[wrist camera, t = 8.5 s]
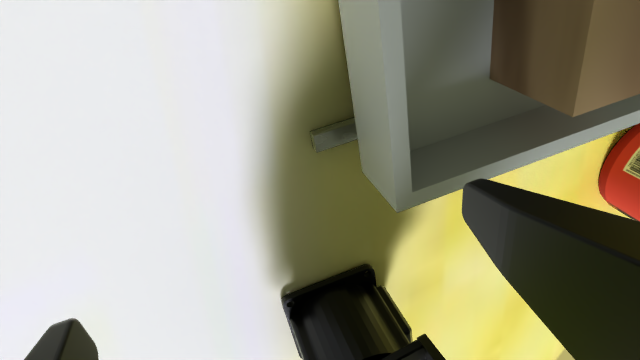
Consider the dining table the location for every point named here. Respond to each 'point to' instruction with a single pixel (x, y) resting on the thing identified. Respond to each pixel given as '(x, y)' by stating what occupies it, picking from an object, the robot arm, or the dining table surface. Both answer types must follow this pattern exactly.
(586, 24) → the walnut block
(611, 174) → the canned food
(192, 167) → the dining table surface
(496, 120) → the grey open tray
